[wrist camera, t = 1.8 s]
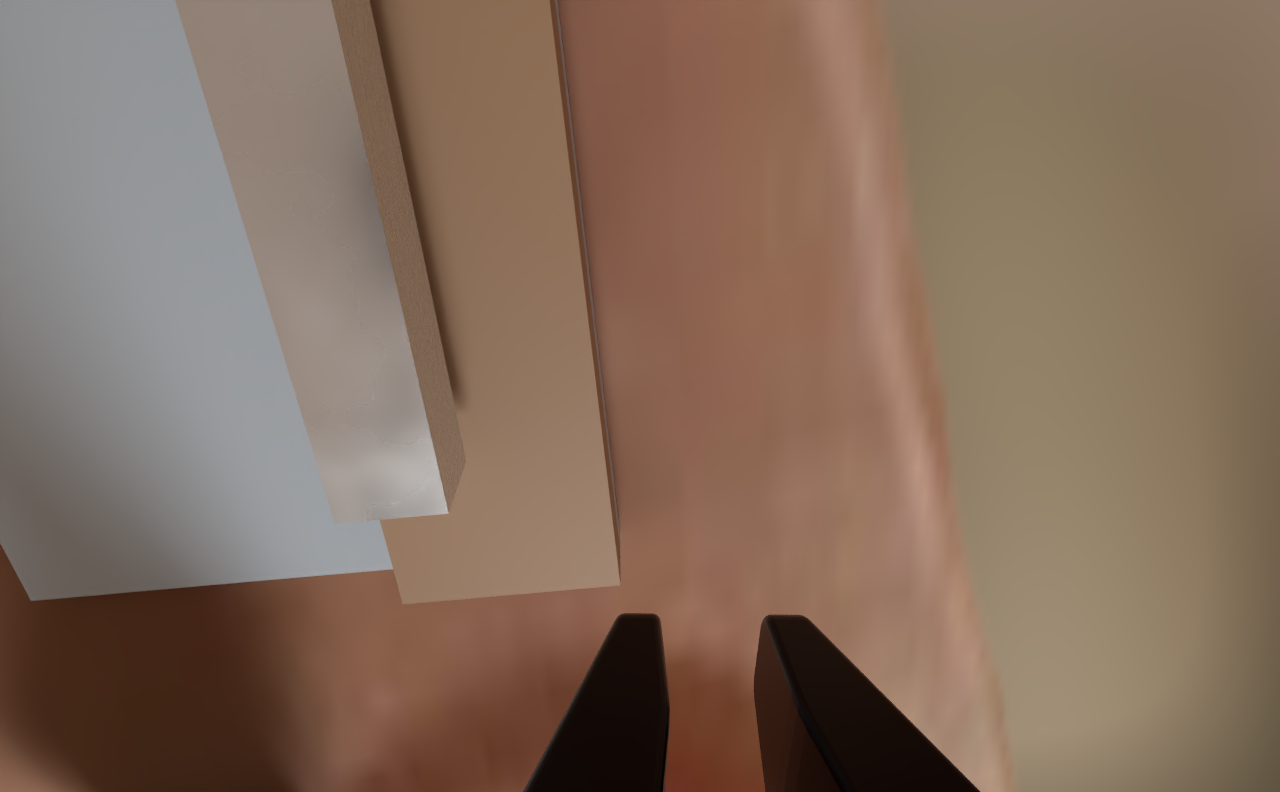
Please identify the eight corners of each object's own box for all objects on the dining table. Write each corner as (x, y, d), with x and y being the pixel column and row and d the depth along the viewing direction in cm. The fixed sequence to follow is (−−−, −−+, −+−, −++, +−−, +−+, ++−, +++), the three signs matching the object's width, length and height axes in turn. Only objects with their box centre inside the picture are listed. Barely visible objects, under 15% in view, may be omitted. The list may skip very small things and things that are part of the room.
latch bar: (113, -310, 11) (-12, -394, 9) (335, -332, 11) (265, -422, 9) (341, 472, 17) (299, 541, 15) (489, 459, 17) (470, 526, 15)
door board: (50, 581, 22) (-119, 749, 17) (-433, -357, 13) (-1076, -590, 8) (619, 531, 22) (621, 685, 17) (504, -452, 13) (435, -749, 8)
